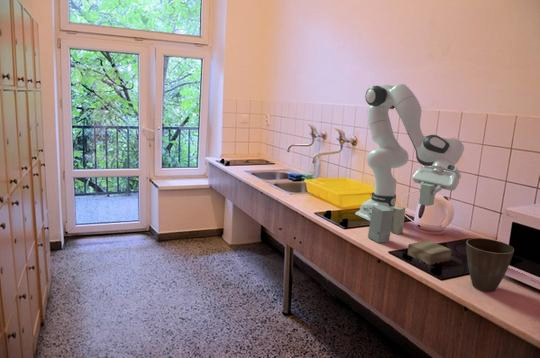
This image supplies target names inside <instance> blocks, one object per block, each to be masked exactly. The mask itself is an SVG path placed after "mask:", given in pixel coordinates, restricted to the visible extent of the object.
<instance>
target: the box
mask: <svg viewBox="0 0 540 358" xmlns="http://www.w3.org/2000/svg"><path fill="white" fill-rule="evenodd" d="M393 210H394V213H393V219H392V226H391V232H390V233H392V234H396V235H400V234H402V233H403V232H404V223H405V216H406V207H403V206H399V205H395V207H394V208H393Z"/></svg>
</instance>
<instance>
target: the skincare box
mask: <svg viewBox="0 0 540 358" xmlns="http://www.w3.org/2000/svg"><path fill="white" fill-rule="evenodd" d="M393 213H394V210H392V209H390V208H388V207H385V206H383V205H379V206H372V213H371V219H370V221H369V226H368V233H367V237H368V238H369V239H370V240H372V241H374V242H376V243H377V244H382V243H389V242H390V239H391V238H390V237H391V233H392V232H391V226H392V219H393Z"/></svg>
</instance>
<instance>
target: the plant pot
mask: <svg viewBox="0 0 540 358" xmlns="http://www.w3.org/2000/svg"><path fill="white" fill-rule="evenodd" d="M514 252H515V248H514V247H513V246H511V245H510V244H507V243H506V242H503V241H500V240H496V239H495V240H494V239H490V238H482V237H474V238H469V239H467V240H466V259H467V266H468V273H469V277H470V280H471V284H472V286H473V288H475V289H476V290H479V291H481V292H487V293H490V292H491V293H492V292H495V291H496V290H497V288H498V287H499V285H500V283H501V282H502V281H503V279H504V277H505V276H506V273H507V272H508V271H507V270H508V268H509V267H510V263H511V261H512V258H513V255H514Z"/></svg>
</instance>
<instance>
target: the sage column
mask: <svg viewBox="0 0 540 358" xmlns="http://www.w3.org/2000/svg"><path fill="white" fill-rule="evenodd" d="M420 187H421V190H420V191H419V201H418V204H419V205H423V206H427V207H430V206H433V205H434V204H435V196H436V195H432V194H431V191H432V190H435V189H436V188H437V187H436V185H433V184H429V183H425V184H421V185H420Z"/></svg>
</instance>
